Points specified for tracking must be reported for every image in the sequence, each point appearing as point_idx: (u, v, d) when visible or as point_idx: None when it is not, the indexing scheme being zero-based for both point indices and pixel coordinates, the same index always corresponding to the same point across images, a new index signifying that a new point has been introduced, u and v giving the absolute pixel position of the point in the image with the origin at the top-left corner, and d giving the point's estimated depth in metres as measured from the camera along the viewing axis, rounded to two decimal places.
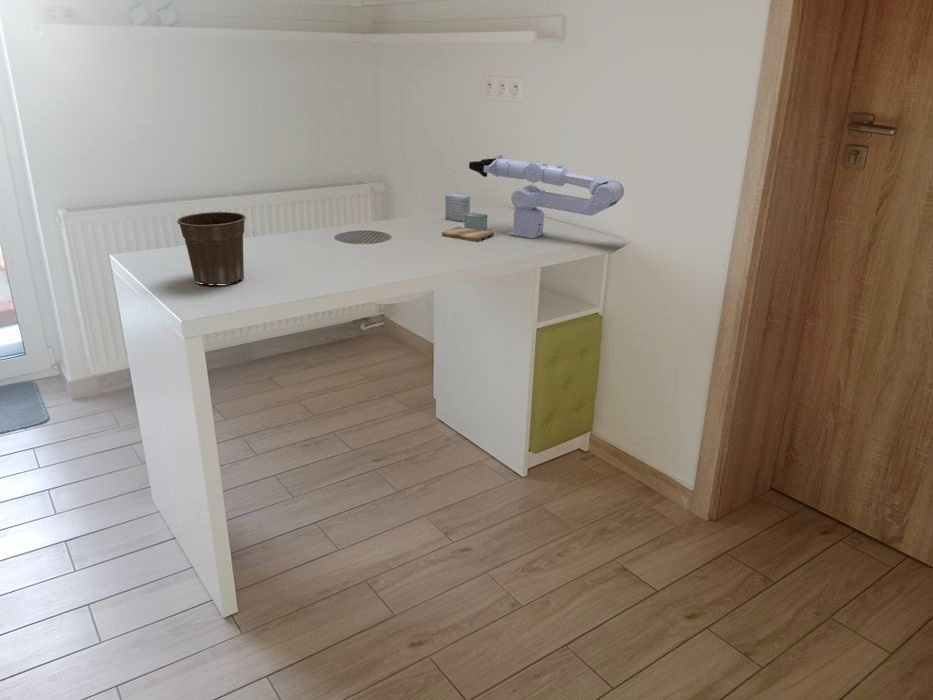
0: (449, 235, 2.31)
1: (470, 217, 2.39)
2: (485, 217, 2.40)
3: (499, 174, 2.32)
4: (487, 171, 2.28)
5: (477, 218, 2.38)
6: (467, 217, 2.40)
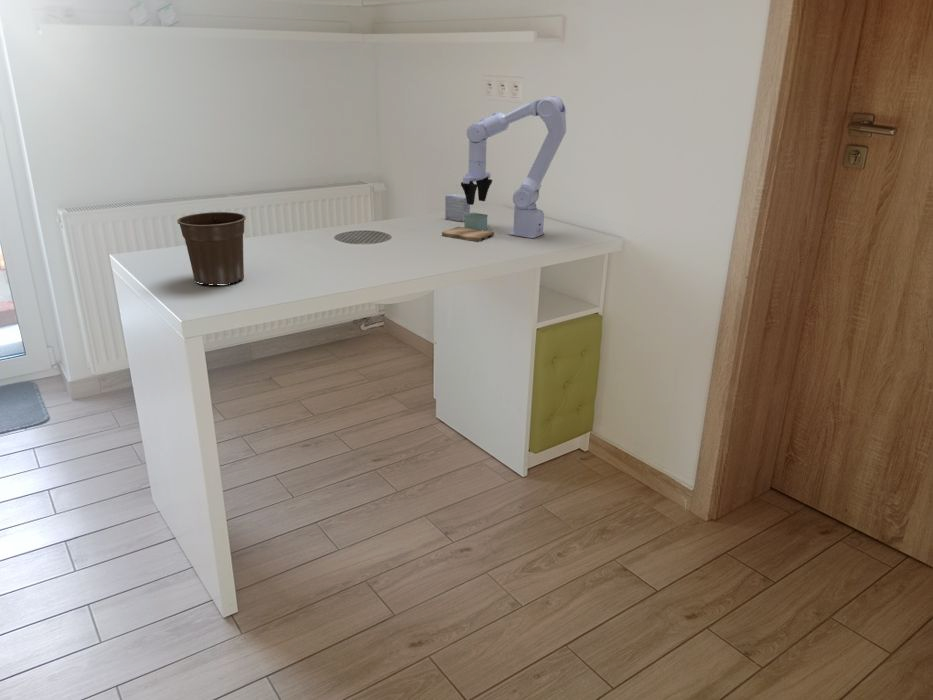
0: (449, 235, 2.31)
1: (470, 217, 2.39)
2: (485, 217, 2.40)
3: (479, 172, 2.32)
4: (467, 179, 2.29)
5: (477, 218, 2.38)
6: (467, 217, 2.40)
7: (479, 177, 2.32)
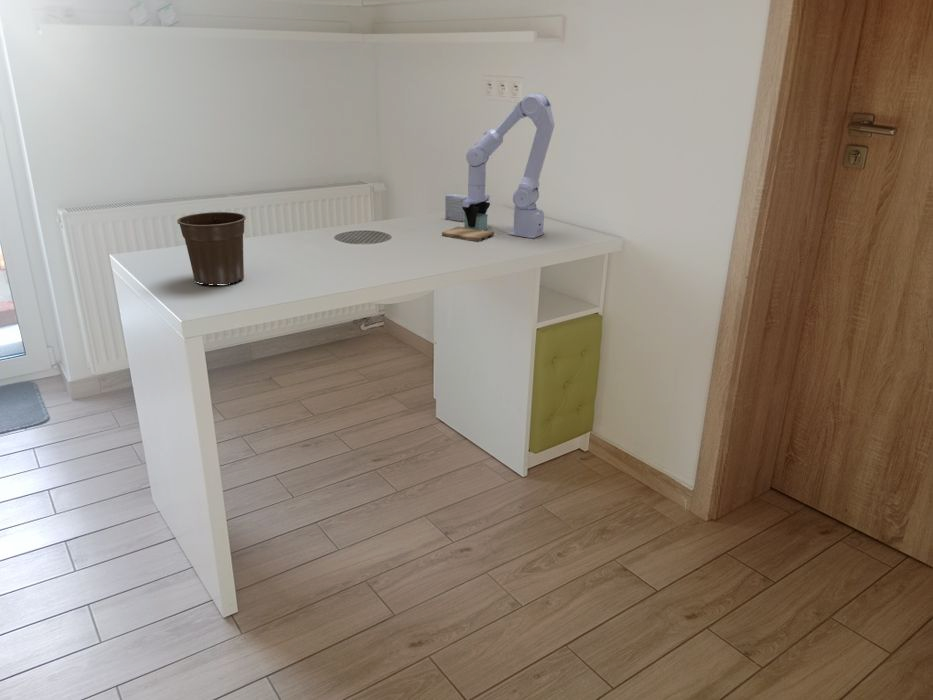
0: (449, 235, 2.31)
1: None
2: (485, 217, 2.40)
3: (478, 195, 2.35)
4: (466, 202, 2.32)
5: (477, 218, 2.38)
6: None
7: (478, 200, 2.35)
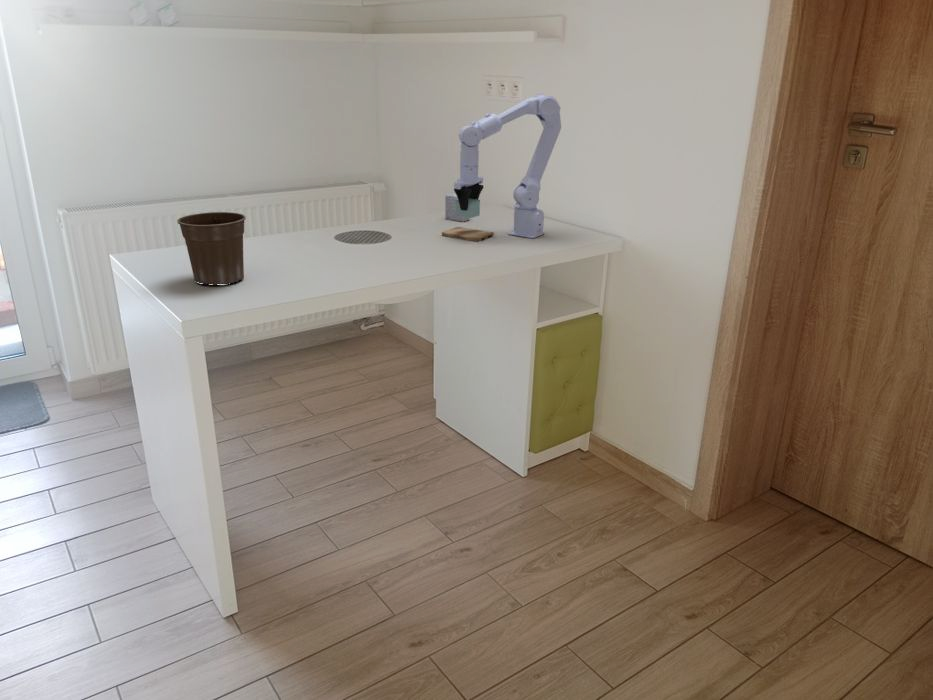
0: (449, 235, 2.31)
1: None
2: (477, 202, 2.28)
3: (471, 177, 2.23)
4: (458, 184, 2.20)
5: (469, 203, 2.26)
6: (458, 202, 2.28)
7: (471, 182, 2.23)
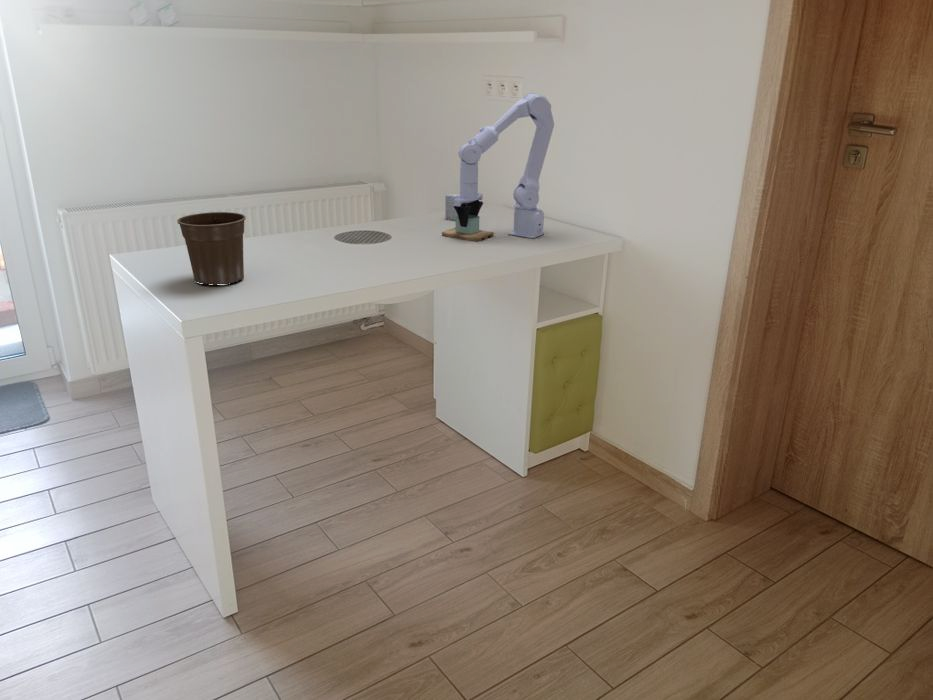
0: (449, 235, 2.31)
1: None
2: (477, 219, 2.30)
3: (470, 194, 2.25)
4: (458, 201, 2.22)
5: (468, 220, 2.28)
6: (458, 219, 2.30)
7: (471, 199, 2.25)
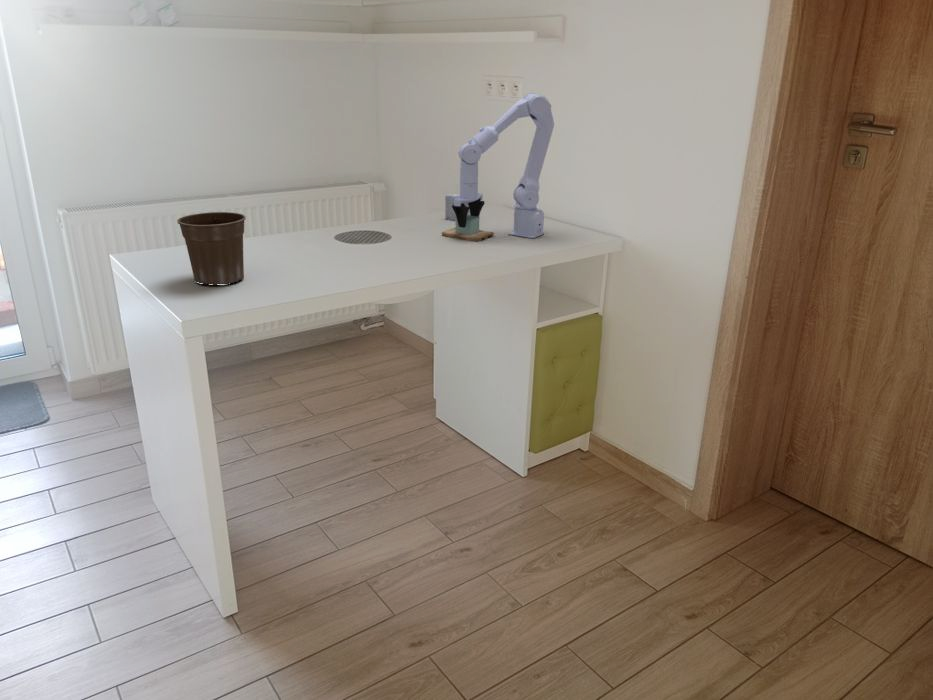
0: (449, 235, 2.31)
1: None
2: (477, 219, 2.30)
3: (470, 194, 2.25)
4: (458, 201, 2.22)
5: (468, 220, 2.28)
6: None
7: (471, 199, 2.25)
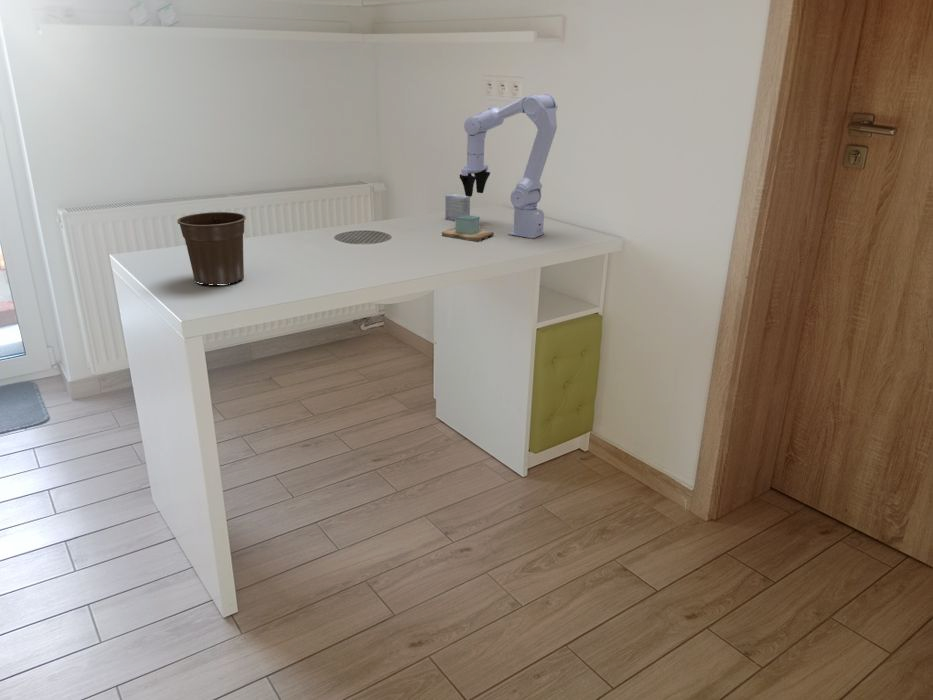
0: (449, 235, 2.31)
1: (461, 219, 2.29)
2: (477, 219, 2.30)
3: (477, 164, 2.38)
4: (465, 171, 2.35)
5: (468, 220, 2.28)
6: (458, 219, 2.30)
7: (477, 169, 2.38)
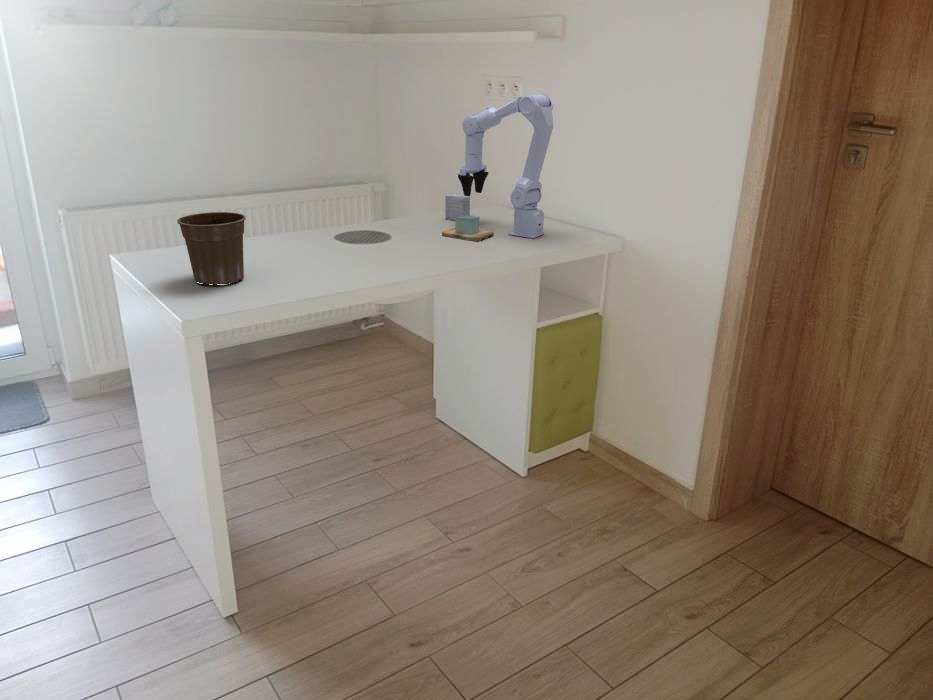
0: (449, 235, 2.31)
1: (461, 219, 2.29)
2: (477, 219, 2.30)
3: (475, 164, 2.39)
4: (463, 171, 2.36)
5: (468, 220, 2.28)
6: (458, 219, 2.30)
7: (475, 169, 2.39)
